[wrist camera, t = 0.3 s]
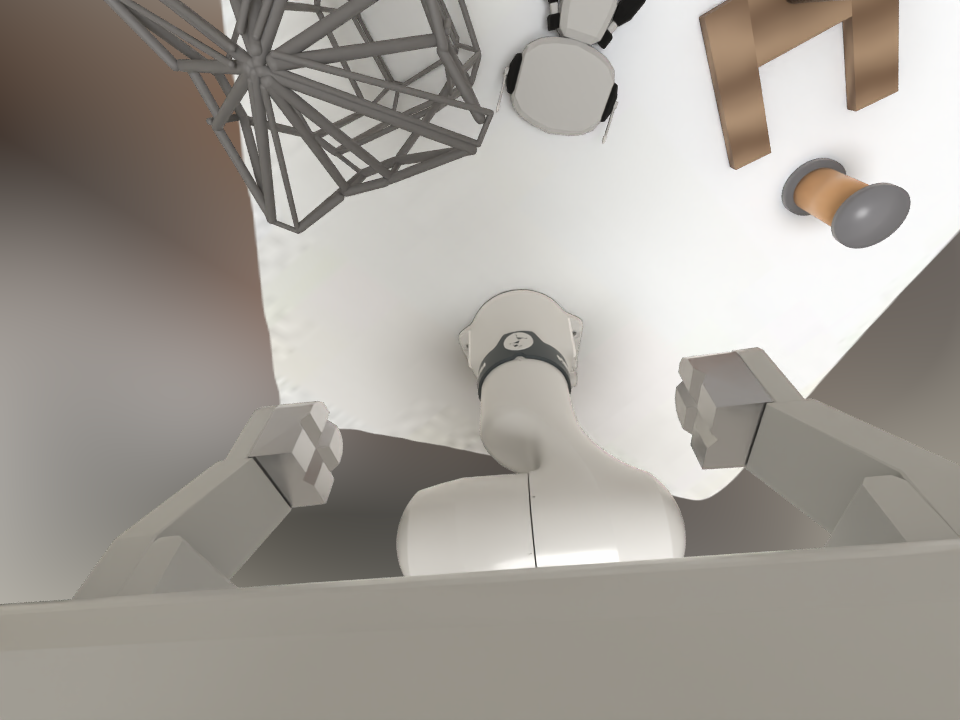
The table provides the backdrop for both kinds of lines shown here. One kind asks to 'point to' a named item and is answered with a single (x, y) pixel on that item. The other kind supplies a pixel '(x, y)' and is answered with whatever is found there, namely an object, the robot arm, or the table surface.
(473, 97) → the geometric lantern
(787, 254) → the table surface
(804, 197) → the cord spool
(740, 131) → the notched board
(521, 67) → the robot toy
